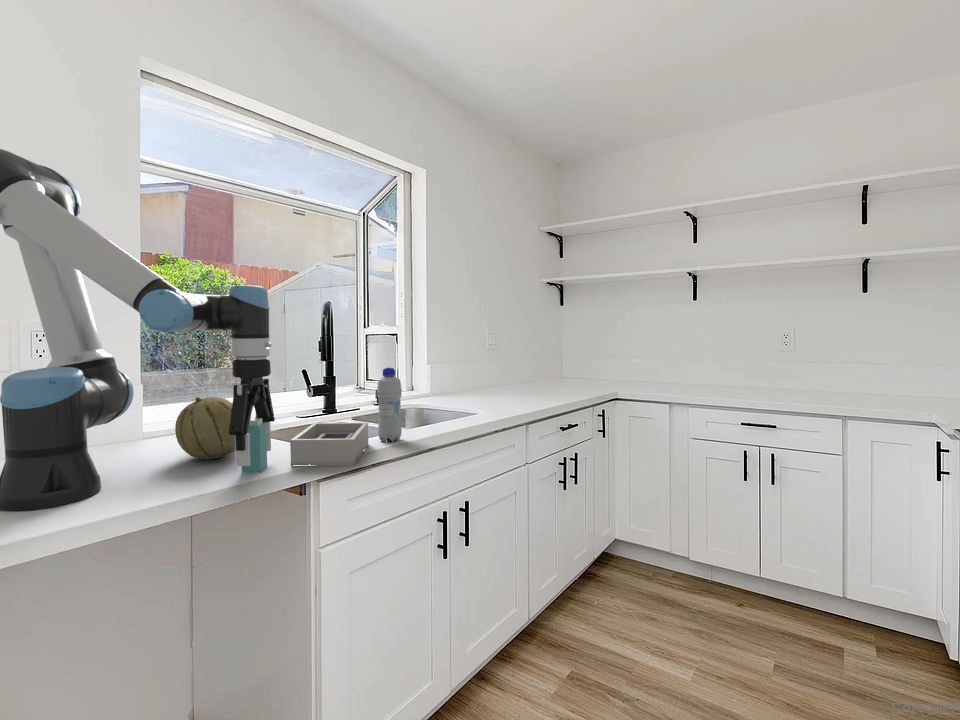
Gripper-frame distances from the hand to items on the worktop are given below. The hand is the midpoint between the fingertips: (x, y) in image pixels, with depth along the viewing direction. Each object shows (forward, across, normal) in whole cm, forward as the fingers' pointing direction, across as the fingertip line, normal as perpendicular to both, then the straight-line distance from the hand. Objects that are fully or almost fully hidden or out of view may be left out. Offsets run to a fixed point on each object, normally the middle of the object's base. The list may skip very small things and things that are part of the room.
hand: (254, 457), depth 114 cm
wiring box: (+3, +12, -14) cm, 19 cm away
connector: (+3, 0, 0) cm, 3 cm away
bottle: (+3, +28, -26) cm, 38 cm away
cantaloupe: (+3, +11, +14) cm, 18 cm away
